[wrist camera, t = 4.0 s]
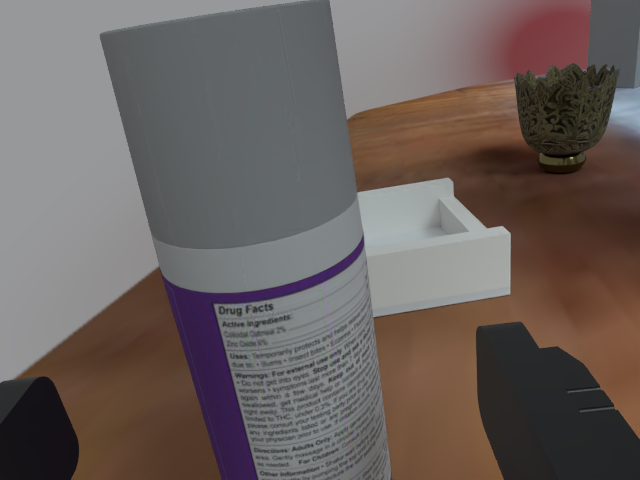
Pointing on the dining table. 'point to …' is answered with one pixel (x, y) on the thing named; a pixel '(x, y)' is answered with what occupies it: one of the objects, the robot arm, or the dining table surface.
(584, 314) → the dining table surface
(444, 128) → the dining table surface
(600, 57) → the perfume bottle
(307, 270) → the container
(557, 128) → the cup
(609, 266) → the dining table surface
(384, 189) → the white drawer
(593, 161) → the dining table surface
